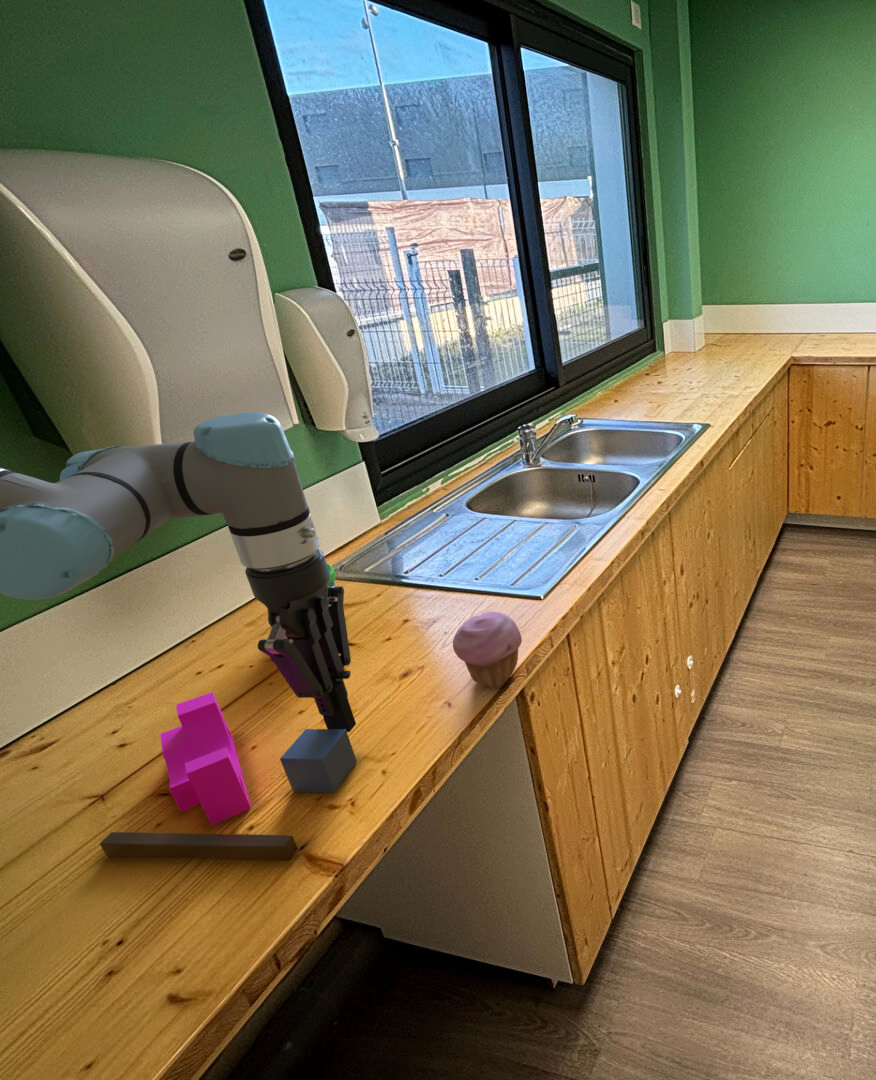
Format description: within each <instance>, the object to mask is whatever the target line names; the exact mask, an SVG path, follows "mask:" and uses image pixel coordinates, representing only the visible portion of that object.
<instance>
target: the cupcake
mask: <svg viewBox="0 0 876 1080" xmlns="http://www.w3.org/2000/svg"><path fill="white" fill-rule="evenodd" d="M455 632H456V633H454V637H453V639H452V649H453V651H454V654H455V655H456V656H457V658H458V659H459V660H460V661H462V662H464V664H465V665H466V668H467V671H468V673H469V675H470V677H471V679H472V680H473V682H475V683H477V684H480V685H482V686H486V687H489V688H491V689H500V688H502V687H503V686H504V685H505V684H506V682H507V681H508V679H509V677H511V676H512V675H513V673H514V671H515V669H516V667H517V665H518V662H519V661H518V660H519V648H520V646H521V645H522V642H523V638H522V634H521V631H520V629H519V626H518V625H517V623H516V622H515V620H514V619H512V618H511V617H510V616H509V615H507V614H506V613H503V612H501V611H487V612H484V613H481V614H479V615H475V616H472V617H469V618H468V619H467V620H465V621H464V622H463V623H462V625H460V626H459V627H458V629H457V630H456V631H455Z"/></svg>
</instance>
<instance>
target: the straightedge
mask: <svg viewBox="0 0 876 1080" xmlns="http://www.w3.org/2000/svg"><path fill="white" fill-rule="evenodd" d="M99 845H100V847H101V848H102V850H103V852H104V854H105V856H106V857H107V858H142V859H143V858H149V859H151V858H153V859H196V860H199V859H200V860H203V859H205V860H244V861H245V860H246V861H247V860H248V861H249V860H250V861H251V860H253V861H255V860H256V861H290V860H291V859H292V858H293V856H294V855H295V854H296V852H297V851H298V849H299V848H298V846H297V843H296V841H295V839H294V836H293V835H292V834H248V833H247V834H246V833H245V834H244V833H243V834H242V833H241V834H239V833H238V834H237V833H191V832H190V833H185V832H184V833H183V832H182V833H181V832H127V831H125V832H124V831H123V832H122V831H114V832H113V831H111V832H109V833H108V835H106V836H105V838H103V840H102V841H100V842H99Z"/></svg>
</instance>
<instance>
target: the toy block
mask: <svg viewBox="0 0 876 1080" xmlns="http://www.w3.org/2000/svg"><path fill="white" fill-rule="evenodd" d="M175 707H176V714H177V718H178V720H179V723H180V726H177V727H175V728H172V729H169V730H167V731H164V732H161V733H159V735H160V745H161V746H160V747H161V752H162V755H163V757H164V762H165V765H166V769H167V773H168V779H169V788H168V790H169V792H170V794H171V796H172V798H173V799H174V801H175V804H176V805H177V807H178V809H179V812H180V813H182V812H184V811H187V810H190V809H191V808H195V807H196V806H199V805H201V806H202V807H201V808H202V809H203V811H204V813H205V815H206V817H207V819H208V821H209V823H210V825H211V826H214V825H216V824H219V823H221V822H223V821H225V820H227V819H229V818H232V817H235V816H237V815H238V814H241V813H244V812H245V811H248V810H250V809H252V806H251V802H250V799H249V795H248V790H247V787H246V783H245V778H244V776H243V772H242V767H241V763H240V760H239V755H238V751H237V747H236V744H235V740H234V738H233V735H232V732H231V730H230V728H229V726H228V723H227V721H226V718H225V716H224V714H223V712H222V709H221V708H220V705H219V703H218V701H217V698H216V696H215V693H214V692H213V691H211V692H208V693H205V694H203V695H200V696H197V697H195V698H191V699H188V700H185V701H183V702H180V703H177V704H175Z"/></svg>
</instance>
